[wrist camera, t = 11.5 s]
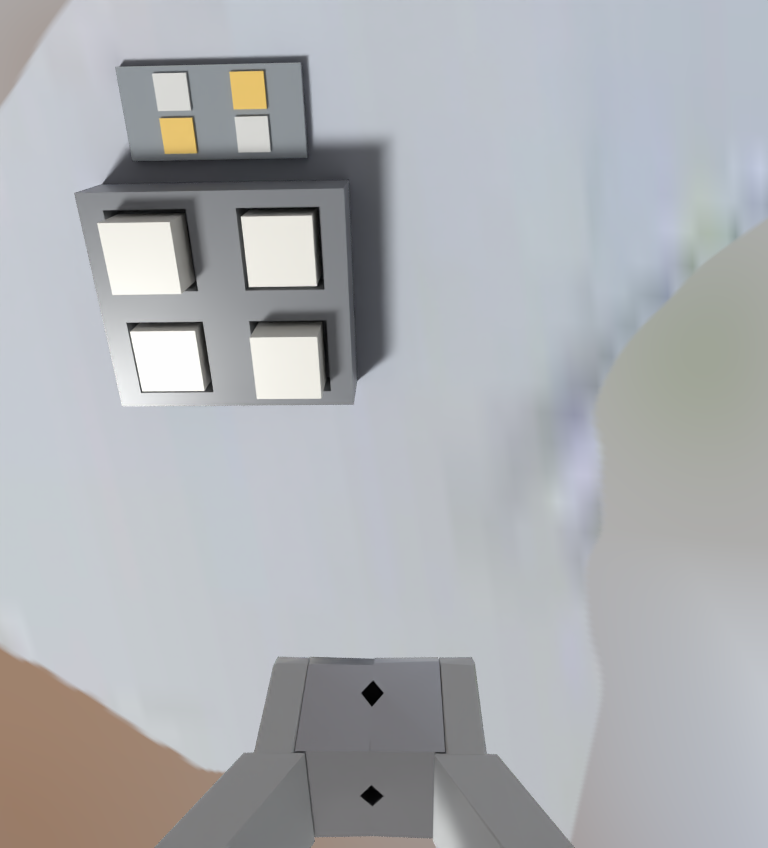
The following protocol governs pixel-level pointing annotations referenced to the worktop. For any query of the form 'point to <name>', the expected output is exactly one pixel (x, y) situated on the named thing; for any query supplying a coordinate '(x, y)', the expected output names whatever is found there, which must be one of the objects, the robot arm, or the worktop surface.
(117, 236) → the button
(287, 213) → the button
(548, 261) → the worktop surface
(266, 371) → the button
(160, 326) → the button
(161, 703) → the worktop surface
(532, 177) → the worktop surface
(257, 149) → the pattern card
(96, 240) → the button board
